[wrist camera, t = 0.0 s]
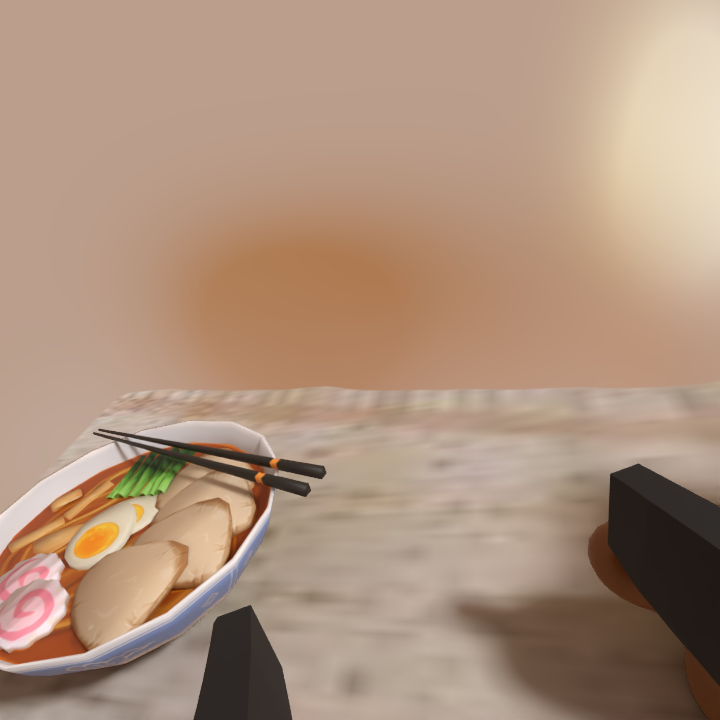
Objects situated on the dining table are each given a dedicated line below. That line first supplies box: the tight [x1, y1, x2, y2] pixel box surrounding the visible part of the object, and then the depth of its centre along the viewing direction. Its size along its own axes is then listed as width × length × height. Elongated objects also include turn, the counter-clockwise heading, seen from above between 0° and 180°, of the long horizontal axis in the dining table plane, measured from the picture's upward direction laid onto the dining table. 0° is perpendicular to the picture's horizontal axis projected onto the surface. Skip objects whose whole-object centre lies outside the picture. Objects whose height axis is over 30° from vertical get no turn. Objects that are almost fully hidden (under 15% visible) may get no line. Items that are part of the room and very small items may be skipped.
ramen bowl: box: [0, 420, 326, 676], centre depth 41 cm, size 25×23×8 cm
